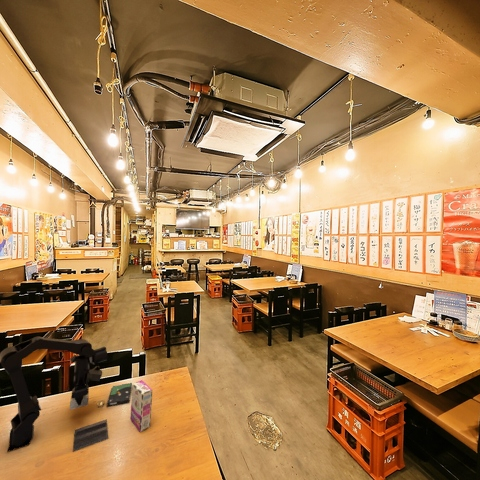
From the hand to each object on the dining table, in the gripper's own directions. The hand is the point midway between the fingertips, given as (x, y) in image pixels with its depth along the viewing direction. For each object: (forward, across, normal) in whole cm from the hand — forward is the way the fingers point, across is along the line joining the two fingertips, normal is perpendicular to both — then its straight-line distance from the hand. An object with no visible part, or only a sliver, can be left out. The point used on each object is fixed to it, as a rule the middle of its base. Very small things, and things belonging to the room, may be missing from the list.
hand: (79, 401), depth 107 cm
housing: (+1, 0, 0) cm, 1 cm away
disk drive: (+7, +6, -18) cm, 20 cm away
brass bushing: (+7, +3, -9) cm, 12 cm away
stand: (+7, -16, -5) cm, 18 cm away
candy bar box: (+7, -19, -24) cm, 31 cm away
